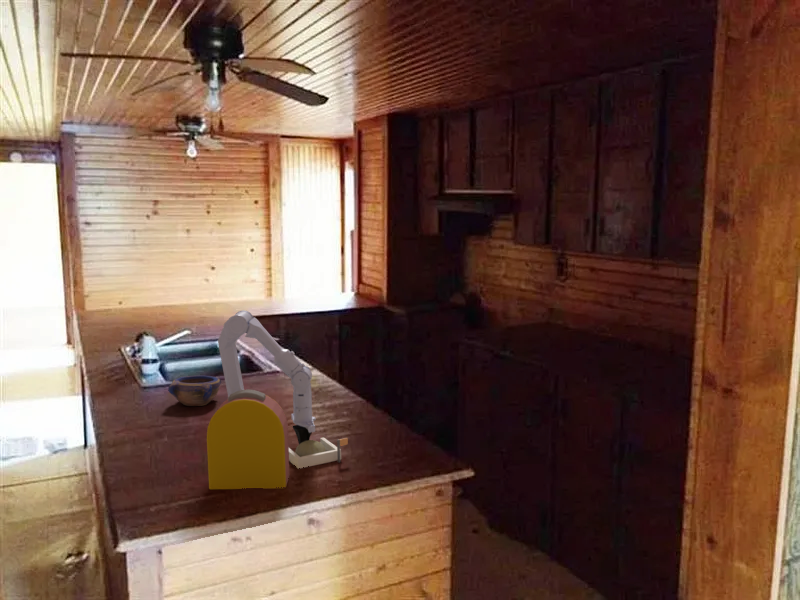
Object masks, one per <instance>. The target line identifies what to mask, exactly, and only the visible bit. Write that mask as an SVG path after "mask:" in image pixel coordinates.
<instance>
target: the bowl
mask: <svg viewBox="0 0 800 600" xmlns="http://www.w3.org/2000/svg"><path fill="white" fill-rule="evenodd" d="M221 384H222V380H221V379H220V378H218V377H217V376H211V375H189V376H188V375H187V376H181V377H178V378H175V379H173V381H172V383H170V384H169V385H168V390H167V391H168V392H169V394H171V395H172V396H173V397H174V398H175V399H176V400H177V401H178V402H179V403H181V404H183V406H187V407H201V406H206V405H207V404H209V403H211V402H212V400H214V398H215V397H216V396H217V395H218V392H219V389H220V385H221Z"/></svg>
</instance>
